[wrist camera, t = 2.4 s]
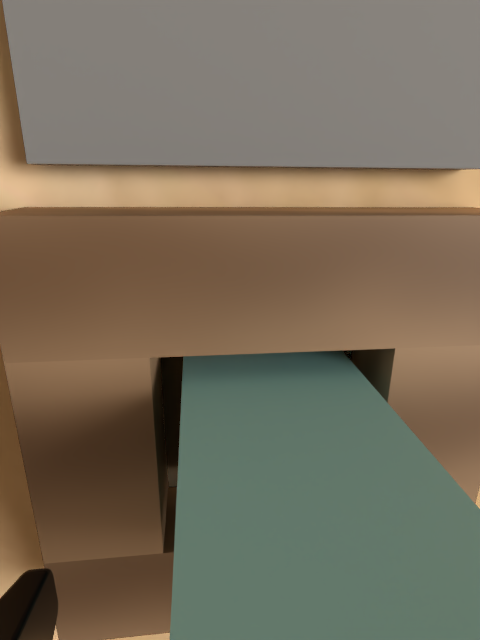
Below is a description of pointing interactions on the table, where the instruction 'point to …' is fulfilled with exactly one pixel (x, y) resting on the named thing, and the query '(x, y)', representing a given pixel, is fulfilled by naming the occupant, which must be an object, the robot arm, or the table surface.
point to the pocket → (210, 339)
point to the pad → (248, 82)
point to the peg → (313, 510)
